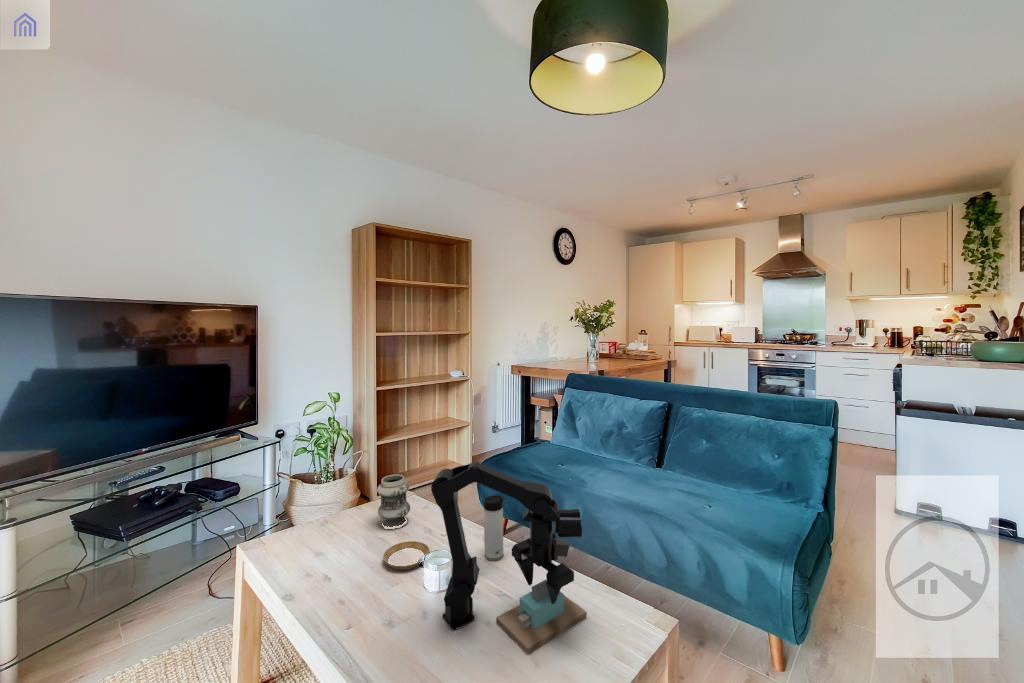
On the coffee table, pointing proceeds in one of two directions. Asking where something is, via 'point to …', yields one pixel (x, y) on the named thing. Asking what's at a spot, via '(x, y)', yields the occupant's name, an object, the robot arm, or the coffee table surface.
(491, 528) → the travel mug
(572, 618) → the cleat board
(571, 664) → the coffee table surface
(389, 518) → the apothecary jar
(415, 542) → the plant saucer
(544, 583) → the grooved box
